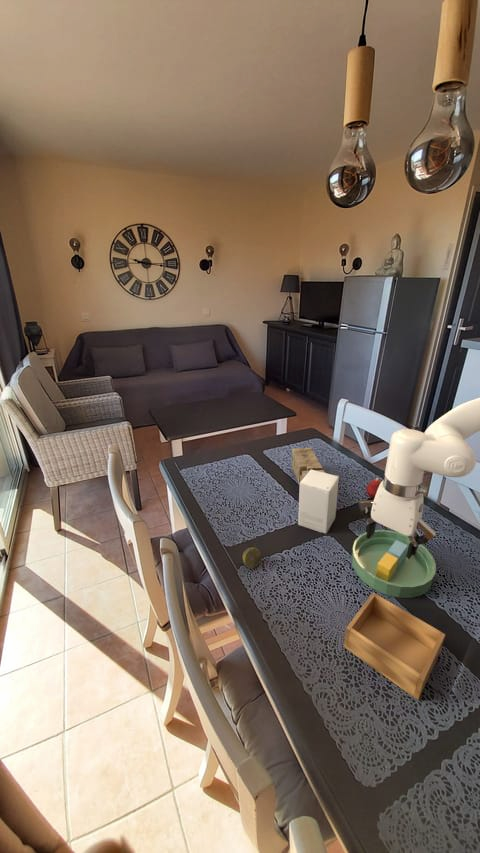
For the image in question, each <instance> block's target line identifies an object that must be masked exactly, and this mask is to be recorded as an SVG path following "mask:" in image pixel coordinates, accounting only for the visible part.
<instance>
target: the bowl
mask: <svg viewBox="0 0 480 853" xmlns="http://www.w3.org/2000/svg"><path fill="white" fill-rule="evenodd" d="M366 535H367V532H366V531H365V532H364V533H361V534H360V535H358V537H356V538H355V540H354V542H353V545H352V550H351V566H352V568H353V570H354V572H355V574H356V575H357V576H358V578H360V579H361V581H362V582H363V583H364V584H366V585H367V586H369V587H370V588H371V589H373V590H374V591H377V592H378V593H381V594H384V595H386V596H390V597H393V598H399V599H412V598H417V597H422V596H423V595H424V594H426V593H427V592H429V591H430V589H431V588H432V586H433V584H434V581H435V578H436V574H437V563H436V560H435V558H434V555H433V554H432V553H431V552H430V550H428V548H427V547H426V546H424V544H421V545H418V549H417V553H416V554H415V556H414V555H412V556H411V557H410V559H408V558H407V557H405V559H404V560H403V561H402V563H401V564H400V566H399V567H398V568H396V571H395V572H394V574H393V575H392V577H391V578H390V579H389V581H388V582H387V581H385V580H383V579H381V578H379V577H377V576H376V571H377V565H378V563H379V561H380V560H381V559H382V558H383V556H384V555H385V554H386V553H388V550H389V549H390V547H391V546H392V545H393V544H394V542H395V541H396V540H397V541H399V542H402V543H404V544H406V545H408V547H409V544H410V543H411V541H410V540H409V538H408V536H406V535H404V534H401V533H399V532H397V531H395V530H387V529H375V532H374V534H373V535H372V536H371V537H370V538H369V539H368V538H366ZM408 547H407V551H408ZM406 555H407V552H406Z"/></svg>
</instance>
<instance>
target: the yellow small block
mask: <svg viewBox="0 0 480 853" xmlns="http://www.w3.org/2000/svg"><path fill="white" fill-rule="evenodd" d="M397 563H398V558H397V557H395V556H393V555H391V554H389V553H386V554H385V555H384V556H383V558H382V559H381V560H380V561H379V563H378V565H377V571H376V576H377V577H379V578H381V579H383V580H385V581H387V582H388V581H389V579H390V578H391V577H392V575H393V574H394V572H395V571H396V568H397Z"/></svg>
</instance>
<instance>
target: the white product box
mask: <svg viewBox="0 0 480 853" xmlns="http://www.w3.org/2000/svg"><path fill="white" fill-rule="evenodd" d="M339 480H340V476H339V475H336V474H331V473H327V472H325V473H323V472H319V471H315V470H312V469H311V470H310V471H309V472H308V473H307V475H306V476H305V477H304V478H303V479H302V481H301V482H300V484H299V492H298V493H299V494H298V518H297V519H298V520H297V521H298V522H297V525H298V526H301V527H303V528H307V529H309V530H312V531H316V532H318V533H323V534H327V533H328V532H329V530H330V529H331V527H332V524H333V523H334V522H335V519H336V515H337V505H338V504H337V503H338V502H337V501H338V493H339Z"/></svg>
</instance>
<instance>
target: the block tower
mask: <svg viewBox="0 0 480 853" xmlns="http://www.w3.org/2000/svg"><path fill="white" fill-rule="evenodd" d="M291 455H292V463H291V468H292V471H293V473H294V476H295V478H296V480H297V484H298V485H300V482H301V481H302V479H303V478H304V477H305V476H306V475H307V473H308V472H309V471H310V470H311V469H312V470H315V471H319V472H323V473H326V472H325V470H324V469H323V466H322V465H321V463H320V461H319V459H318V457H317V455H316V454H315V452H314V449H313V447H298V448H296V447H295V448H291Z"/></svg>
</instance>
